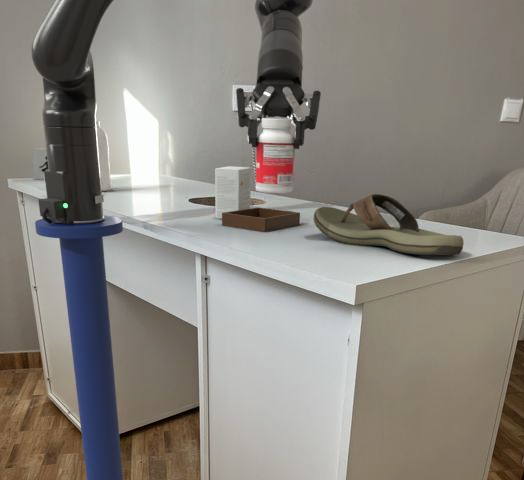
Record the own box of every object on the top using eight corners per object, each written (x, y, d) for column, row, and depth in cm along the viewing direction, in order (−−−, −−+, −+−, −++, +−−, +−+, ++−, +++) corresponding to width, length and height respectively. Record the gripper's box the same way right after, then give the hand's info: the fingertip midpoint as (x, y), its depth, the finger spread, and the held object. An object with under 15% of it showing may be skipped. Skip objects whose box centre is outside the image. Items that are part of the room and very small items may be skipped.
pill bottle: (261, 188, 95) (263, 118, 90) (296, 190, 93) (300, 119, 89) (250, 192, 89) (252, 117, 85) (287, 194, 87) (290, 118, 83)
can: (97, 193, 160) (90, 118, 153) (59, 191, 163) (51, 117, 156) (119, 189, 171) (114, 119, 164) (83, 187, 174) (77, 118, 167)
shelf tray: (264, 231, 107) (265, 218, 106) (221, 225, 113) (221, 212, 112) (299, 224, 116) (300, 212, 115) (258, 218, 122) (258, 207, 121)
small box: (227, 213, 128) (227, 165, 124) (250, 215, 126) (251, 166, 122) (214, 218, 121) (214, 167, 117) (238, 220, 119) (239, 169, 115)
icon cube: (42, 176, 205) (38, 148, 201) (70, 177, 206) (67, 148, 202) (34, 179, 195) (30, 149, 192) (63, 179, 196) (60, 149, 193)
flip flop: (302, 235, 104) (305, 188, 101) (347, 229, 111) (351, 186, 108) (430, 265, 83) (438, 208, 80) (476, 256, 90) (485, 203, 86)
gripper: (236, 45, 90) (228, 124, 83) (325, 48, 90) (324, 127, 83) (238, 84, 97) (231, 159, 90) (320, 86, 96) (319, 162, 90)
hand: (275, 144), depth 87 cm, fingers closed on pill bottle, 6 cm apart
